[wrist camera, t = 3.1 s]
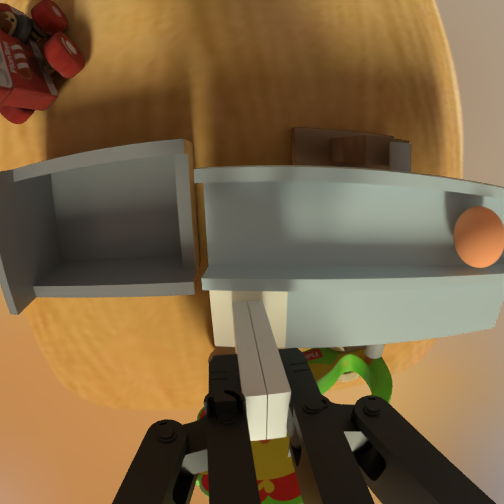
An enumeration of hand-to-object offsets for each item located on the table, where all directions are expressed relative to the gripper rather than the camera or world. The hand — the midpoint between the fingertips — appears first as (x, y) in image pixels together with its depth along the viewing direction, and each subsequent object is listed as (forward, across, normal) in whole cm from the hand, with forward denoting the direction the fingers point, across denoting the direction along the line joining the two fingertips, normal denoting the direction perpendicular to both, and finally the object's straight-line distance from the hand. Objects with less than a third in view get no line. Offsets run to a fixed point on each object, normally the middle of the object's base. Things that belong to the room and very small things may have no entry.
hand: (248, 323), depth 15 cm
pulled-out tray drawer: (+8, -9, +5) cm, 13 cm away
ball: (-3, +12, +5) cm, 13 cm away
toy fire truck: (+8, -16, +19) cm, 26 cm away
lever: (+1, +8, +3) cm, 9 cm away
